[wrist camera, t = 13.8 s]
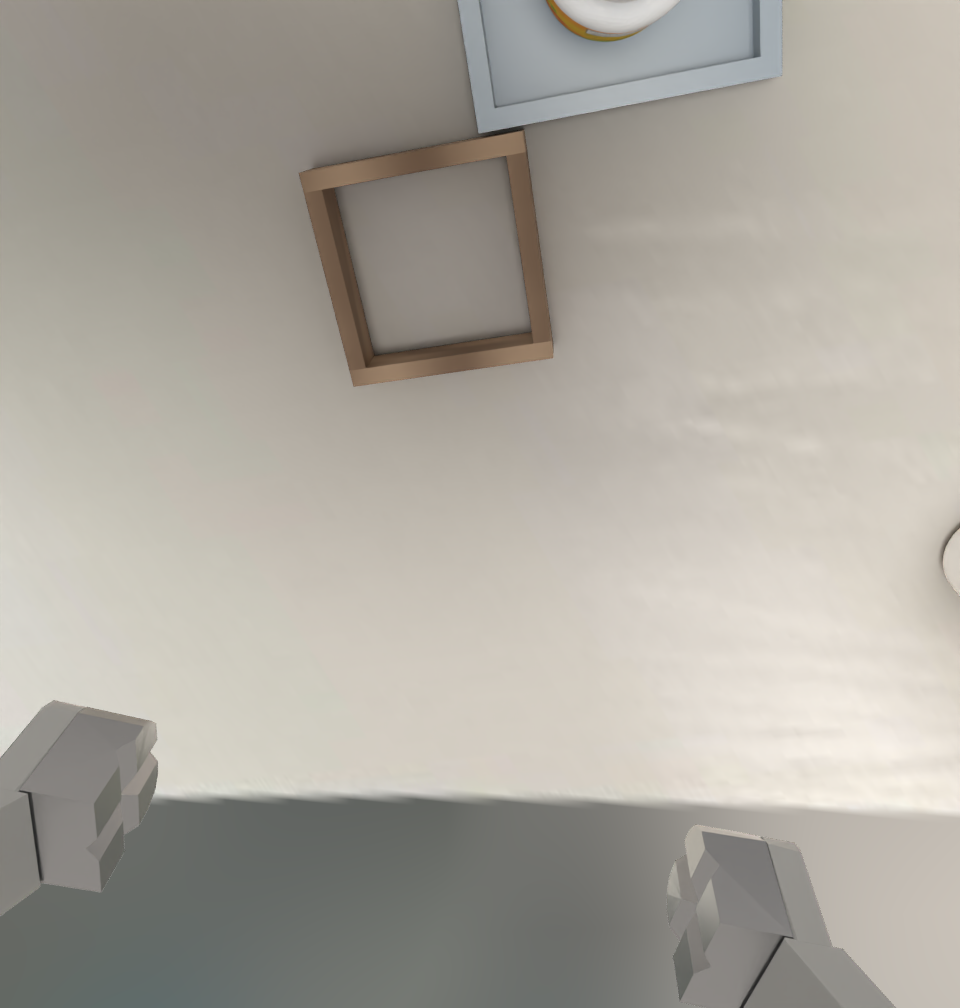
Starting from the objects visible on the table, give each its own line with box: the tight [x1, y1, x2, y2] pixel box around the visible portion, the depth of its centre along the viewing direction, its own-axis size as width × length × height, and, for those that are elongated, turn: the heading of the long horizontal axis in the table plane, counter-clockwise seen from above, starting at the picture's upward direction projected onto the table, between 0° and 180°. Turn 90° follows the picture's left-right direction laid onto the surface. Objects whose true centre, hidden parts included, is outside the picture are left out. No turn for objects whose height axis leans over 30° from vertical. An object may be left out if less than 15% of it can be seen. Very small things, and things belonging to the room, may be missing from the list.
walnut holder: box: [299, 129, 553, 387], centre depth 36 cm, size 10×10×2 cm
